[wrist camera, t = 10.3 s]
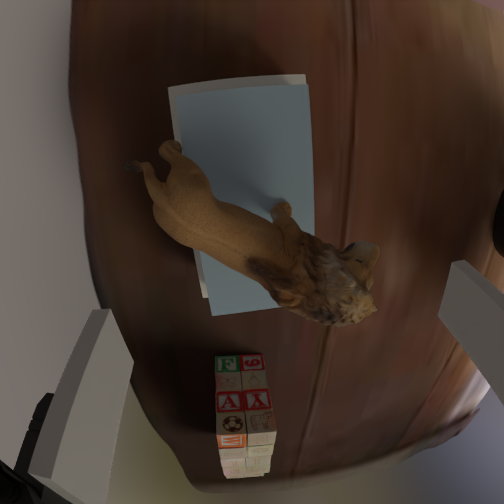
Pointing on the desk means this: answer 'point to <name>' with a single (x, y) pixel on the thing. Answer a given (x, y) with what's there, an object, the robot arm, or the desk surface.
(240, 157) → the two-tone layered slab
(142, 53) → the desk surface
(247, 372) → the stack of blocks
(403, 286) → the desk surface
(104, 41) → the desk surface
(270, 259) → the lion figurine
